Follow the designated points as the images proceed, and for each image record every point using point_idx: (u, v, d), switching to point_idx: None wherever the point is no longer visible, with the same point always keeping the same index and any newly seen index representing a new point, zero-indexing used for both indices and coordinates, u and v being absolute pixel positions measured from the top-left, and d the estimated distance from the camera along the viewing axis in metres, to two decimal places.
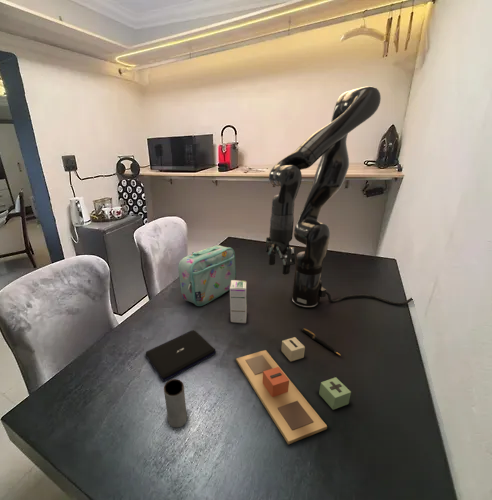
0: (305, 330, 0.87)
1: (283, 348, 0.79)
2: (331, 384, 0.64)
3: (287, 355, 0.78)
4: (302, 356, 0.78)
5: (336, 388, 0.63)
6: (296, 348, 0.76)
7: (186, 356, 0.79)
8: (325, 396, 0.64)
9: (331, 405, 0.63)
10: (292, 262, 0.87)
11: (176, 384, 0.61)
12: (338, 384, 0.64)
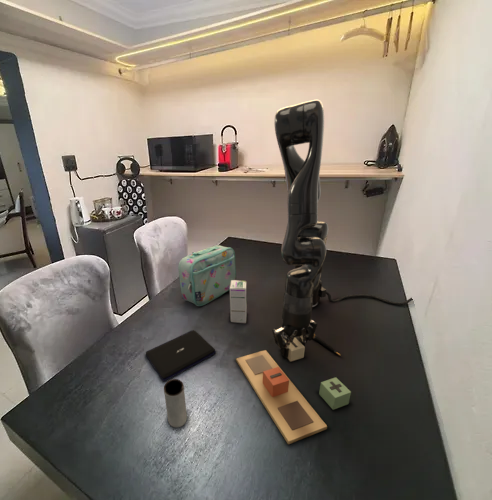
0: None
1: None
2: (331, 384, 0.64)
3: None
4: (302, 356, 0.78)
5: (336, 388, 0.63)
6: (296, 348, 0.76)
7: (186, 356, 0.79)
8: (325, 396, 0.64)
9: (331, 405, 0.63)
10: (278, 344, 0.76)
11: (176, 384, 0.61)
12: (338, 384, 0.64)
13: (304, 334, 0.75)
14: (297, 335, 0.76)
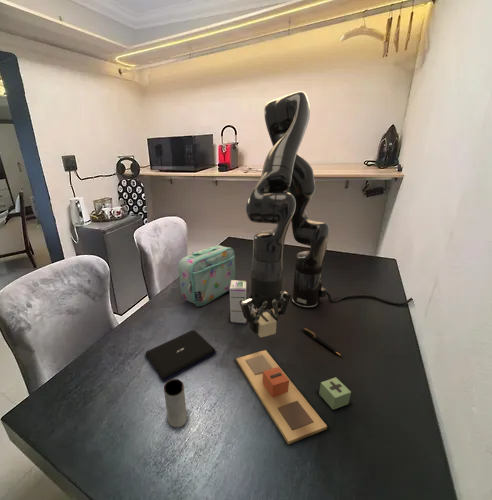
0: (306, 330, 0.87)
1: None
2: (331, 384, 0.64)
3: (258, 331, 0.69)
4: (273, 332, 0.69)
5: (336, 388, 0.63)
6: (267, 322, 0.68)
7: (186, 356, 0.79)
8: (325, 396, 0.64)
9: (331, 405, 0.63)
10: (246, 318, 0.68)
11: (176, 384, 0.61)
12: (338, 384, 0.64)
13: (275, 306, 0.67)
14: (267, 307, 0.67)
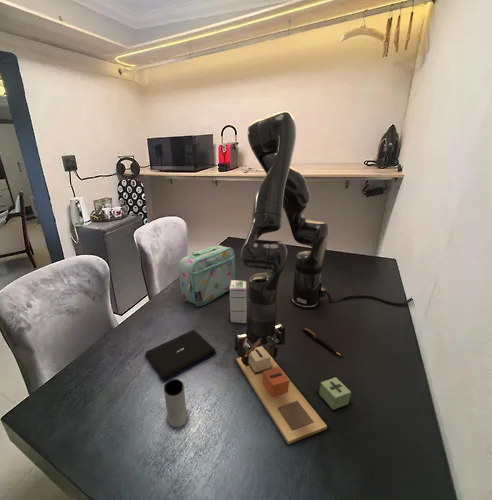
0: (306, 330, 0.87)
1: (249, 357, 0.75)
2: (331, 384, 0.64)
3: (253, 366, 0.73)
4: (267, 367, 0.73)
5: (336, 388, 0.63)
6: (261, 358, 0.72)
7: (186, 356, 0.79)
8: (325, 396, 0.64)
9: (331, 405, 0.63)
10: (237, 352, 0.71)
11: (176, 384, 0.61)
12: (338, 384, 0.64)
13: (272, 341, 0.71)
14: (262, 343, 0.71)
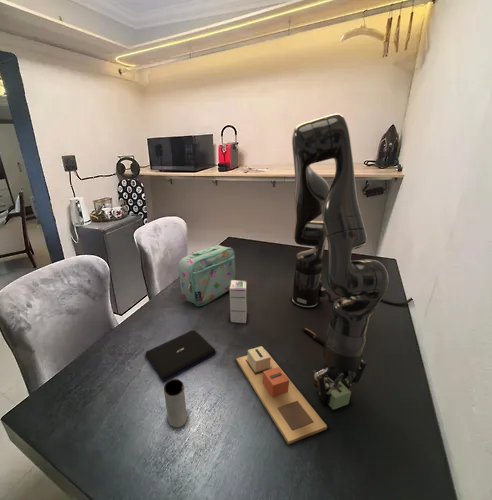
0: (306, 330, 0.87)
1: (249, 357, 0.75)
2: None
3: (253, 366, 0.73)
4: (267, 367, 0.73)
5: (336, 388, 0.63)
6: (261, 358, 0.72)
7: (186, 356, 0.79)
8: None
9: (331, 405, 0.63)
10: (318, 389, 0.61)
11: (176, 384, 0.61)
12: (338, 384, 0.64)
13: (351, 377, 0.61)
14: (342, 378, 0.61)
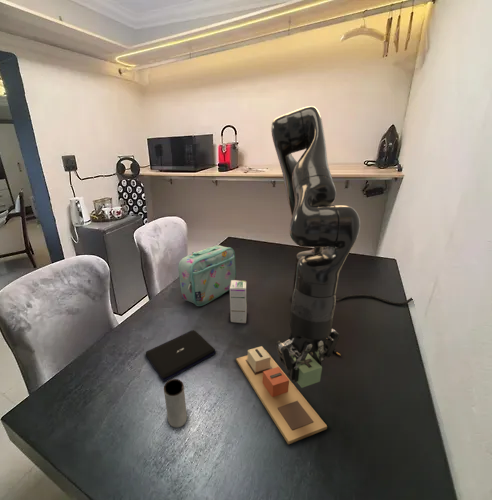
0: None
1: (249, 357, 0.75)
2: None
3: (253, 366, 0.73)
4: (267, 367, 0.73)
5: (305, 363, 0.55)
6: (261, 358, 0.72)
7: (186, 356, 0.79)
8: None
9: (299, 382, 0.54)
10: (284, 363, 0.53)
11: (176, 384, 0.61)
12: (309, 359, 0.56)
13: (321, 349, 0.53)
14: (311, 350, 0.53)
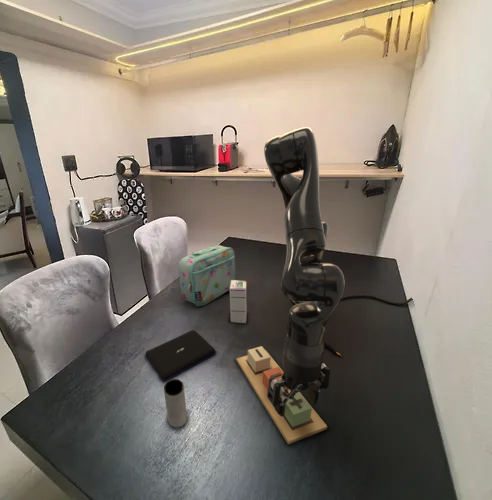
0: None
1: (249, 357, 0.75)
2: (291, 399, 0.60)
3: (253, 366, 0.73)
4: (267, 367, 0.73)
5: (296, 403, 0.59)
6: (261, 358, 0.72)
7: (186, 356, 0.79)
8: (285, 412, 0.60)
9: (291, 422, 0.58)
10: (271, 400, 0.56)
11: (176, 384, 0.61)
12: (299, 398, 0.60)
13: (314, 386, 0.57)
14: (302, 389, 0.57)
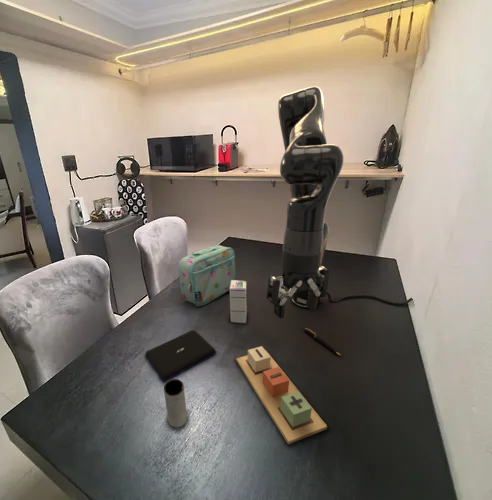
0: (307, 329, 0.88)
1: (249, 357, 0.75)
2: (291, 399, 0.60)
3: (253, 366, 0.73)
4: (267, 367, 0.73)
5: (296, 403, 0.59)
6: (261, 358, 0.72)
7: (186, 356, 0.79)
8: (285, 412, 0.60)
9: (291, 422, 0.58)
10: (271, 299, 0.57)
11: (176, 384, 0.61)
12: (299, 398, 0.60)
13: (313, 285, 0.57)
14: (302, 289, 0.58)
